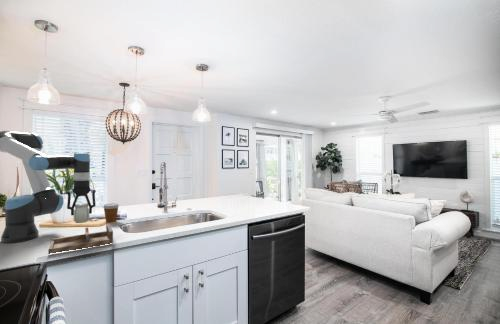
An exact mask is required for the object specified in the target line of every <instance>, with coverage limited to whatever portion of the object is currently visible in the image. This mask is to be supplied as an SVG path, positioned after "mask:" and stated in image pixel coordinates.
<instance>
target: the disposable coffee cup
mask: <svg viewBox="0 0 500 324" xmlns="http://www.w3.org/2000/svg"><path fill="white" fill-rule="evenodd" d="M103 210H104V216H105V218H104V219H105V222H106V224H111V223H116V222H117V217H118V210H119V204H118V203H113V202H112V203H106V204H103Z"/></svg>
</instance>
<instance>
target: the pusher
mask: <svg viewBox="0 0 500 324" xmlns="http://www.w3.org/2000/svg"><path fill="white" fill-rule="evenodd" d="M84 229H85V232H84V233H85V238H86V242H89V234H90V233H89V228H88V227H85V228H84Z"/></svg>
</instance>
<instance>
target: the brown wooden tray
mask: <svg viewBox="0 0 500 324" xmlns="http://www.w3.org/2000/svg"><path fill="white" fill-rule="evenodd" d="M105 226H106V227H105V229H106V230H104V231H98V232H92V233H91V232H90V233H89V242H86V238H85V234H77V235H70V236H63V237H58V238H57V237H56V238H51V241H50V245H49V248H48V249H47V250H48V253H47V255H48V254H50V253H56V252H62V251H69V250H76V249H82V248H88V247H93V246H100V245H105V244H110V243H113V244H114V231H113V229H112V226H111V223H106V225H105Z"/></svg>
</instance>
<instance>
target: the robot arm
mask: <svg viewBox="0 0 500 324" xmlns="http://www.w3.org/2000/svg"><path fill="white" fill-rule="evenodd" d="M43 146H44V142H43V139H42V137H41V136H40V135H38V133H34V132H30V131H26V132H24V131H23V132H22V131H13V130H1V131H0V152H1V153H7V154H10V155H11V156H14V157H15V158H17V159H19V160H21V161H22V165H23V168H24V170H25V173H26V176H27V179H28V182H29V184H30V187H31V190H32V193H31V194H21V195H16V196H12V197H10V198H7V199H6V200H5V204H4V214H5V215H4V218H5V219H4V222H5V223H4V224H5V226H4V230H3V232H2V234H1V236H0V242H1V243H3V244H11V243H13V244H14V243H20V242H26V241H29V240H33V239H36V238H38V237H39V234H40V233H39V229H38V228H37V226H36V224H35V217H40V216H45V215H49V214H51V215H52V214H53V213H57V212H59V211H61V209H62V208H63V206H64V196H63V195H62V194H61V193H59V192H57V191H56V189H55V188H52V187H51V185H50V182H49V179H48V176H47V173H46V171H49V170H73V189H71V190H67V192H66V193H67V204H66V209H67V210H70V216H71V217H72V216H73V222H75V204H77V202H78V199H79V197H84V198H85V199H86V203H88V221H89V220H90V215H91V214H92V213H93V208H95V207H96V206H97V205H96V195H95V194H96V191H97V190H96V189H91V185H90V183H91V182H90V177H91V176H90V175H91V174H90V172H91V171H90V169H91V168H90V167H91V166H90V165H91V158H90V157H91V156H90V153H88V152H74V153H73V155H47V154H44V153H43V152H41V151H42V150H43ZM89 193H91V196H92V197H91V198H92V203H91V201H90V198H89V195H88V194H89ZM73 194H75V196H74V200H73V203H72V205H71V197H72V195H73ZM45 198H46V199H45Z"/></svg>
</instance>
